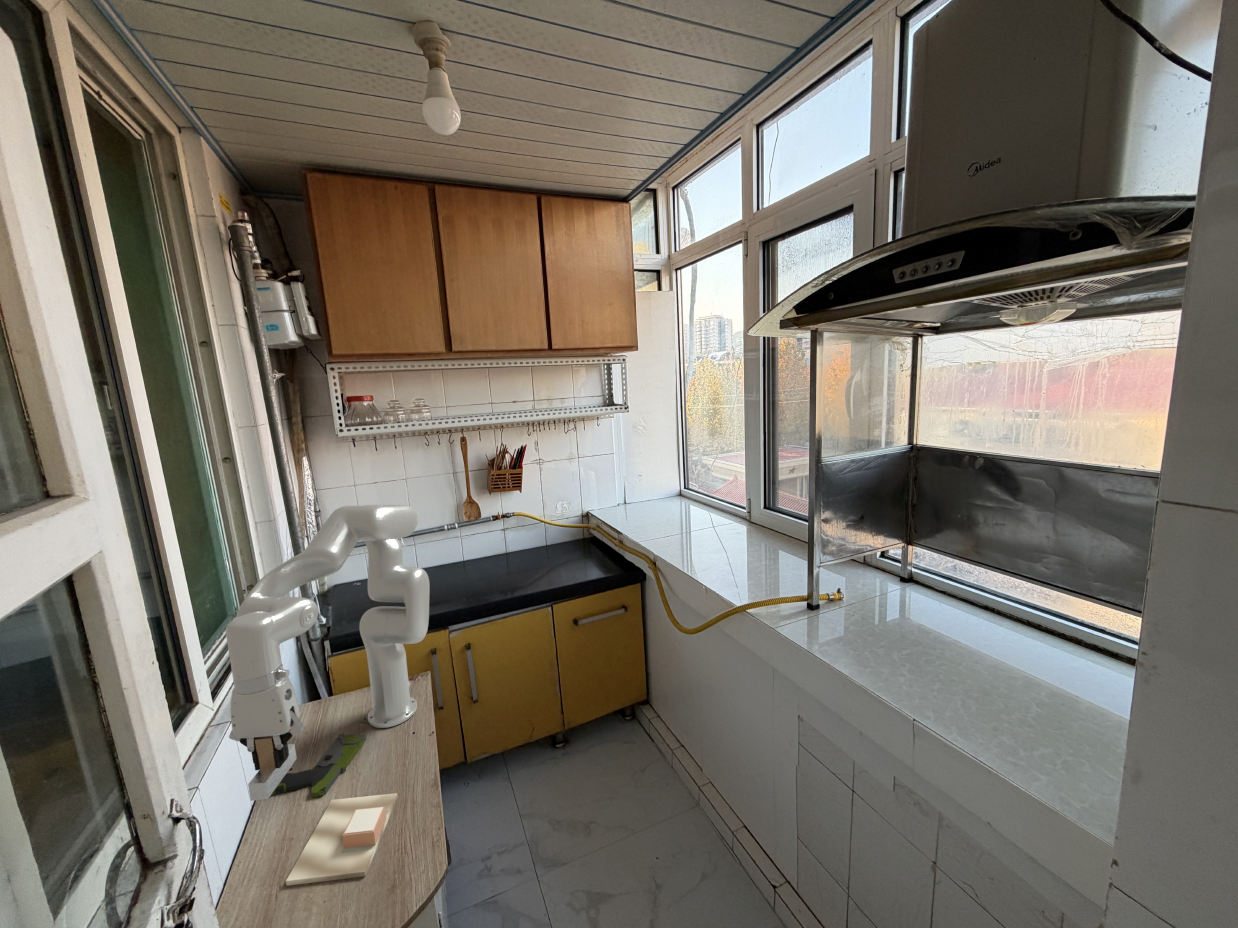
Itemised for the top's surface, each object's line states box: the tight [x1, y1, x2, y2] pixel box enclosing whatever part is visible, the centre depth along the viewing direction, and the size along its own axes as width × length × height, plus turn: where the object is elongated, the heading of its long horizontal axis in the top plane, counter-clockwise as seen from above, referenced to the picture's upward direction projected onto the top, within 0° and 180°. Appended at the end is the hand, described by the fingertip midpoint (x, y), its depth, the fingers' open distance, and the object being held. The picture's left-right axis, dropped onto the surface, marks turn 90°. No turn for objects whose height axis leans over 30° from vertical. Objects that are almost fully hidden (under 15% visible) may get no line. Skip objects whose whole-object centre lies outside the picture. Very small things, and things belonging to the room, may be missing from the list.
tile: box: [342, 806, 387, 849], centre depth 100 cm, size 6×6×3 cm
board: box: [285, 792, 399, 887], centre depth 100 cm, size 18×14×1 cm
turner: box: [247, 736, 298, 801], centre depth 96 cm, size 10×3×10 cm, turn 6°
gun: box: [270, 733, 367, 798], centre depth 119 cm, size 2×19×15 cm
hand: (271, 763), depth 96 cm, fingers closed on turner, 3 cm apart
